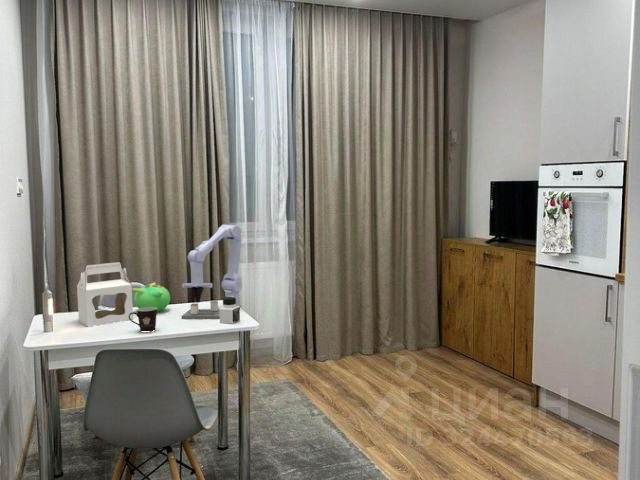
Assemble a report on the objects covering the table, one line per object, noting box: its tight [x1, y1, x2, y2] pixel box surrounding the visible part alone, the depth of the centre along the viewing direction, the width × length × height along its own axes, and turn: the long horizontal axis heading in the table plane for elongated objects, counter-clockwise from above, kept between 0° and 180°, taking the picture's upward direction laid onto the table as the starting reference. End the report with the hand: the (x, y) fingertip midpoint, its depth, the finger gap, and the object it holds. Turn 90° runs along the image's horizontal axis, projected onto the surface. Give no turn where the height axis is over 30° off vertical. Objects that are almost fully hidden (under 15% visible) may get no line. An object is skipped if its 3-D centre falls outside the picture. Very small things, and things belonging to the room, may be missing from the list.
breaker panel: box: [181, 308, 220, 320], centre depth 290 cm, size 15×19×2 cm
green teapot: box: [132, 282, 171, 312], centre depth 299 cm, size 18×17×15 cm
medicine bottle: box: [219, 296, 241, 325], centre depth 276 cm, size 7×7×12 cm
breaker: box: [209, 300, 219, 311], centre depth 293 cm, size 3×3×5 cm
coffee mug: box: [129, 307, 158, 332], centre depth 262 cm, size 12×9×10 cm
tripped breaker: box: [189, 303, 199, 314], centre depth 287 cm, size 3×3×5 cm
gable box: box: [76, 261, 134, 327], centre depth 281 cm, size 22×13×28 cm, turn 129°
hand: (198, 302), depth 286 cm, fingers closed
